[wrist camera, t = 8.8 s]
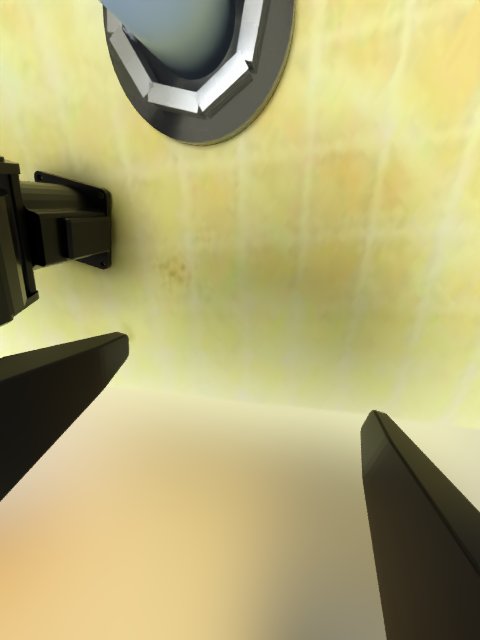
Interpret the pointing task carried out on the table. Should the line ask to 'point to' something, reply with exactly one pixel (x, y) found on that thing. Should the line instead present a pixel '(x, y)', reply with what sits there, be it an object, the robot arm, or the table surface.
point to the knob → (180, 31)
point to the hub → (216, 88)
